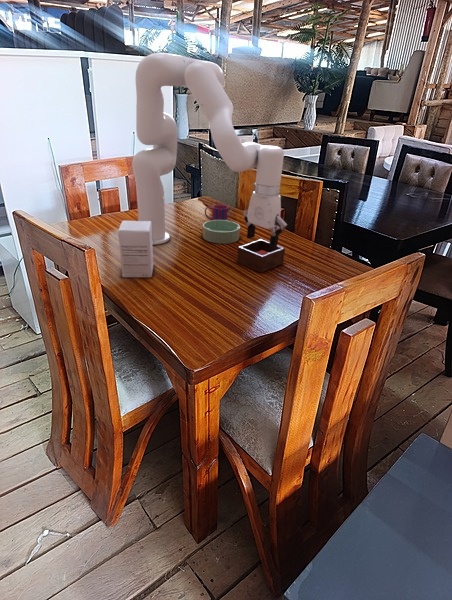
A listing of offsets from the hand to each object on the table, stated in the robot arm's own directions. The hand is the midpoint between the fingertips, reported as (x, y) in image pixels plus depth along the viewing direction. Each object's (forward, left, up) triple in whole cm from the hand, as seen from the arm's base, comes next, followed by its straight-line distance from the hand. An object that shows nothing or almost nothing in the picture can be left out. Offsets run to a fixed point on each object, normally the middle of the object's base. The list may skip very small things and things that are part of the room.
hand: (261, 241), depth 130 cm
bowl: (+7, +26, -8) cm, 28 cm away
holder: (0, 0, -8) cm, 8 cm away
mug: (+18, +40, -8) cm, 44 cm away
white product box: (-35, +20, -8) cm, 41 cm away
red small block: (0, 0, -7) cm, 7 cm away
